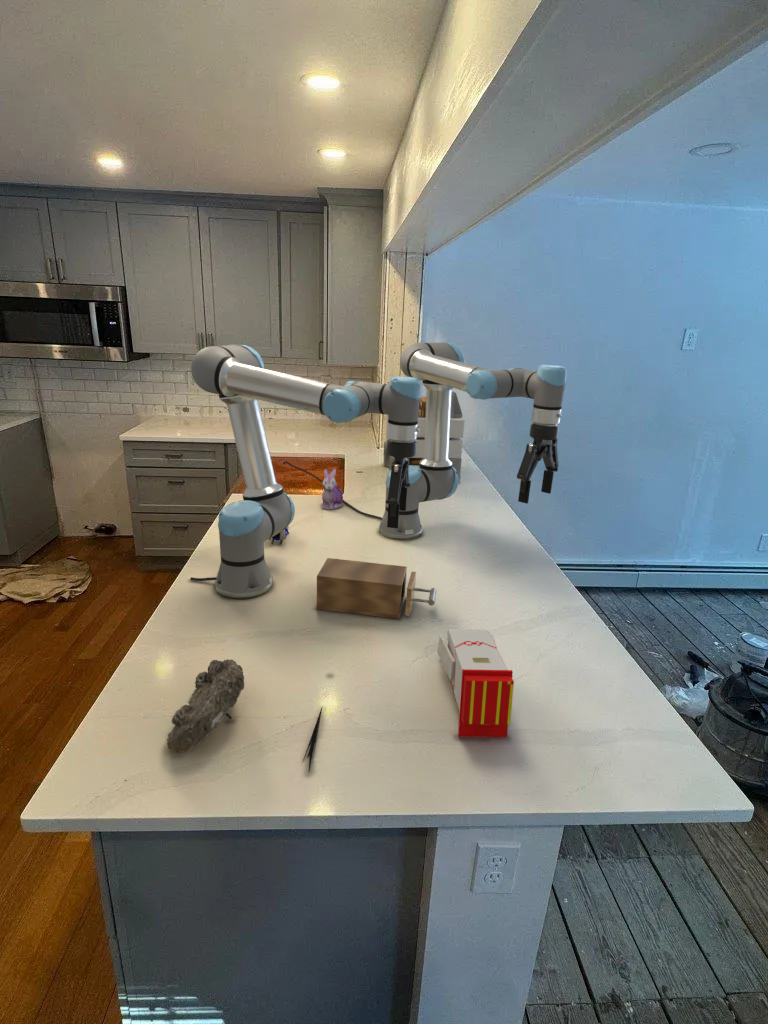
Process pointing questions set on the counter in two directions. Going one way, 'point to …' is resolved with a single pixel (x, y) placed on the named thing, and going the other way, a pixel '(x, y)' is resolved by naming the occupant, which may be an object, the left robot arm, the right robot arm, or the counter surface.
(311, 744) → the feather
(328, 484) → the figurine
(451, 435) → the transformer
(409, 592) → the drawer
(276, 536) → the figurine character
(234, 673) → the fossil
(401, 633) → the counter surface
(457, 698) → the toy
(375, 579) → the cabinet
